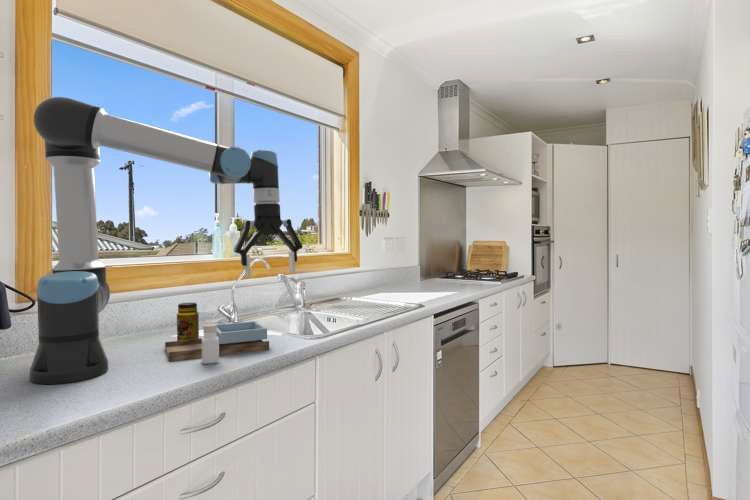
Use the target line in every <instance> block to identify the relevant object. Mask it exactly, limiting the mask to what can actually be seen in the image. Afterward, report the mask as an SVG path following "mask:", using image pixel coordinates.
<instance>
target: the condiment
mask: <svg viewBox="0 0 750 500" xmlns="http://www.w3.org/2000/svg"><path fill="white" fill-rule="evenodd" d="M197 306H198V304H197V303H196V302H182V303H179V304H178V305H177V307H178V308H177V314H176V339H177V340H176V341H181V340H191V339H201V338H202V337H200V334H199V333H200V329H199V327H200V326H199V322H200V321H199V312H198V307H197Z"/></svg>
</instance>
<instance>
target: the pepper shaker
mask: <svg viewBox="0 0 750 500" xmlns="http://www.w3.org/2000/svg"><path fill="white" fill-rule="evenodd" d="M202 327H203V328H202V329H203V331H202V332H203V337H201V338H202V357H201V363H202V364H203V365H208V364H209V365H212V364H217V363H219V362H220V355H219V338H218V337H217V336H216V332H217V324H216V323H208V324H204V325H203V326H202Z"/></svg>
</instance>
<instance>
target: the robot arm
mask: <svg viewBox="0 0 750 500" xmlns="http://www.w3.org/2000/svg"><path fill="white" fill-rule="evenodd" d="M33 123H34V128H35V130H36V132H37V133H38V134H39V136H40V137H41V138H42V139H43V140H44V149H45V160H46V162H48V163H49V164H50V165H51V166H52V167H53V177H54V193H55V194H54V196H55V213H56V215H55V216H56V228H57V229H56V230H57V247H58V249H57V250H58V263H56V264H55V266H53V268H51V271H52V273H48V274H46V275H42V277H41V278H39V279H38V281H37V287H36V296H37V328H38V346H37V348H36V351H35V355H34V357H33V360H32V362H31V366H30V368H29V381H30V382H32V383H33V384H39V385H57V384H58V385H59V384H68V383H74V382H80V381H84V380H88V379H92V378H95V377H98V376H101V375H103V374H105V373H106V372H108V370H109V359H108V357H107V354H106V352H105V350H104V348H103V344H102V342H101V339H100V330H99V329H100V323H99V321H100V317H99V314H100V313H101V312H102V311H103V310H104V309H105V308H106V306H107V304H108V302H109V299H110V296H111V290H110V287H109V284H108V282H107V270H106V269H107V267H106V265H105V264H104V263H103V262H101V260H100V259H99V242H98V241H99V240H98V226H97V223H98V222H97V205H96V204H97V203H96V187H95V186H96V185H95V171H94V169H95V168H96V167H97V166H98V165H99V164H100V163H101V154H100V153H101V152H100V147H105V148H108V149H112V150H116V151H121V152H125V153H128V154H132V155H135V156H136V155H137V156H141V157H145V158H150V159H153V160H158V161H162V162H166V163H169V164H173V165H178V166H181V167H182V166H183V167H186V168H190V169H195V170H197V171H198V170H199V171H202V172H207V173H208V177H209V181H210V183H211V184H221V185H224V184H227V185H229V184H234V185H235V184H252V190H253V192H252V195H253V202H254V205H253V210H254V211H253V213H254V214H253V216H254V219H253V221H252V220H244V221H243V228H242V231H241V232H240V235H239V238H238V240H237V242H236V244H235V247H234V249H233V252H234V253H236V254H239V255H240V259H241V260H240V262H241V266H243V267H244V276H245V277H246V278H251V277H252V276H251V275H252V274H251V262H250V261H251V259H250V257H251V256H250V254H247V253H248V252H249V251H250V250H251V249H252V247H253V246H254V244H255V243H256V241H257V240H258V239H259V238H260V237H261V236H268V235H269V236H272V235H273V236H274V235H275V236H277V237H278V238H279V239H280V240H281V241H282V242H283V244H285V245H286V246H287V248H288V249H289V251H288V266H289V268H288V270H289V274H296V267H295V266H296V264H295V263H296V262H297V261H298V251H299V250H301V249H303V247H304V246H303V245H302V243H301V242H302V241H300V238H299V237H298V235H297V233H296V231H295V230H294V228H293V223H292V219H290V218H287V219H283V220H282V218H281V205H280V204H279V202H280V185H279V164H278V157H277V155H278V154H277V153H276V152H275V151H274V150H271V149H255V150H252V151H251V153H250V155H249V153H248V152H247V151H246V149H244V148H241V147H239V146H230V147H228V146H226V145H225V146H224V145H221V144H217V143H214V142H210V141H206V140H203V139H199V138H195V137H192V136H188V135H184V134H181V133H177V132H174V131H170V130H166V129H162V128H158V127H155V126H151V125H149V124H144V123H140V122H137V121H134V120H133V121H132V120H129V119H127V118H126V119H125V118H122V117H118V116H116V115H112V114H108V113H107V111H106V110H105V109H104V108H103V107H98V106H96V105H91V104H89V103H86V102H83V101H79V100H76V99H73V98H69V97H64V96H54V97H50V98H47V99H44V100H43V101H42V102H41V103H39V104H38V105H37V106H36V108H35V110H34V113H33ZM282 225H283V227H285V229H286V231H287V233H288V235H289V238H288V236H287V235H286V234H285V233H284V232H283V230H282V229H281V227H282ZM253 226H254V228H255V229H256V230H255V231H254V232H253V234H252V236H250V238H249V240H248V241H247V242H246V239H247V237H248V235H249V233H250V230H251V228H253ZM290 239H291V240H290ZM245 242H246V244H245ZM244 244H245V245H244Z"/></svg>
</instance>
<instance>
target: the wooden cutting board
mask: <svg viewBox="0 0 750 500" xmlns="http://www.w3.org/2000/svg"><path fill="white" fill-rule="evenodd" d="M200 338H201V339H191V340H181V341H177V340H173V341H164V351H165V353H166V357H167V359H168V362H173V361H174V362H175V361H183V360H184V361H185V360H191V359H192V360H193V359H199V358H201V359H202V338H203V337H200ZM255 341H256V340H254V341H245V342H236V343H229V344H230V345H227V346H222V345H223V344H219V356H225V355H226V356H227V355H231V354H232V355H233V354H241V353H250V352H257V351H258V352H259V351H265V350H267V351H268V350H270V340H262V342H255Z"/></svg>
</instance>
